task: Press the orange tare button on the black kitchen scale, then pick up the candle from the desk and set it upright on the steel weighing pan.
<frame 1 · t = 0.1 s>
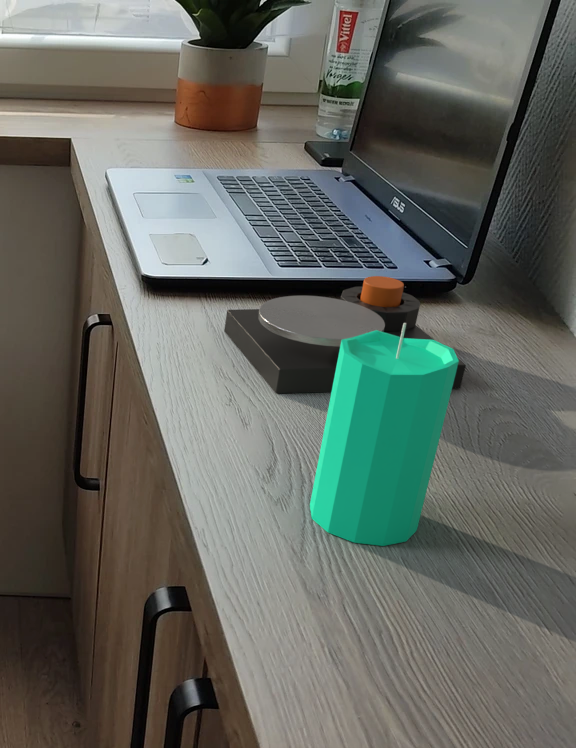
scale: (335, 358, 84), on the worktop
candle: (361, 520, 63), on the worktop
tare button: (381, 292, 86), point 4 cm above the worktop, slide at 0.1 cm
weighing pan: (319, 323, 81), resting on scale
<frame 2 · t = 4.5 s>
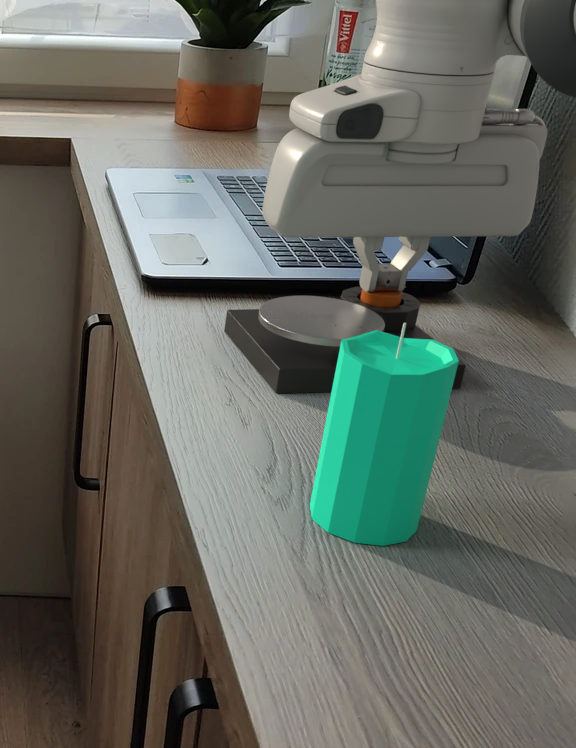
hand: (380, 289, 86), 4 cm above the worktop, tool pointing down, fingers closed, pressing on tare button
tare button: (380, 300, 86), point 3 cm above the worktop, slide at -0.5 cm, touching gripper
everything else where it was.
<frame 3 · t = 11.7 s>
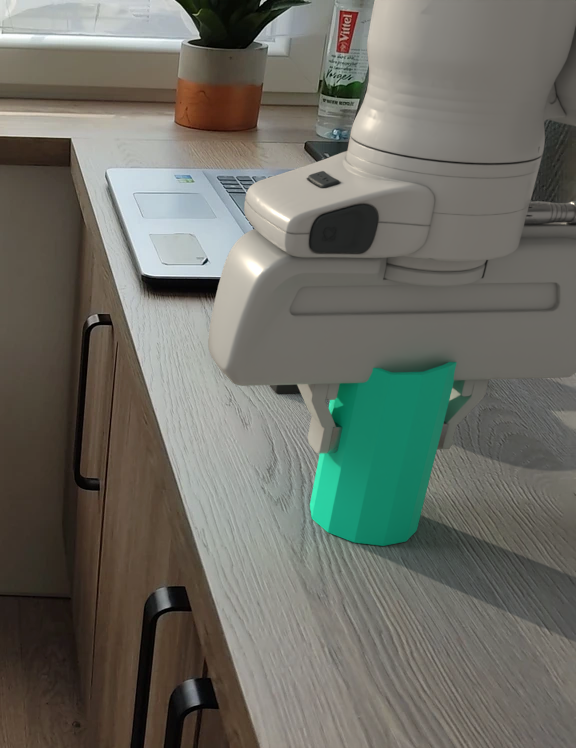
hand: (377, 447, 61), 5 cm above the worktop, tool pointing down, fingers closed on candle, 5 cm apart
candle: (361, 520, 63), on the worktop, touching gripper
tare button: (381, 292, 86), point 4 cm above the worktop, slide at 0.1 cm
when the fingers open (9 cm above the worktop, at t = 19.1 s): candle stays where it is, resting on weighing pan.
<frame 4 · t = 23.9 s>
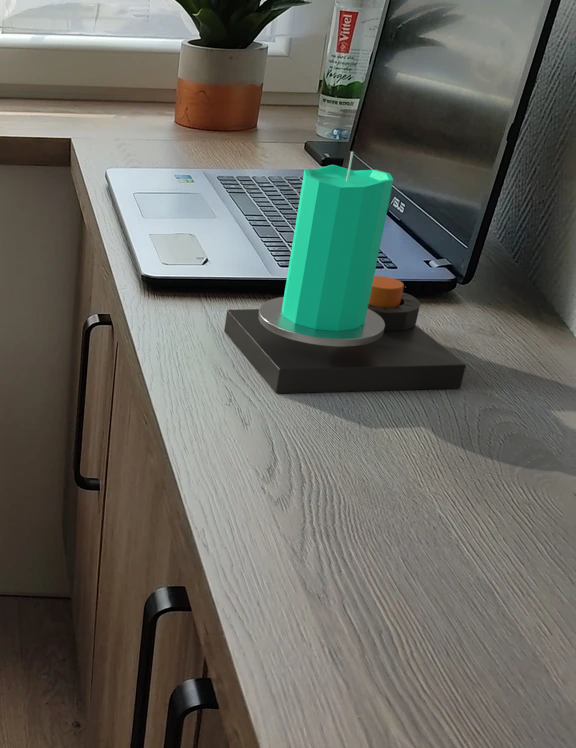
candle: (322, 318, 81), point 4 cm above the worktop, touching weighing pan
everything else where it was.
at the end: tare button pushed in 0.9 cm at the most during the clip, back to where it started at the end; candle inside the target area on the scale (0.1 cm from its centre), point 3.9 cm above the scale's base; candle tilted 0° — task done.
